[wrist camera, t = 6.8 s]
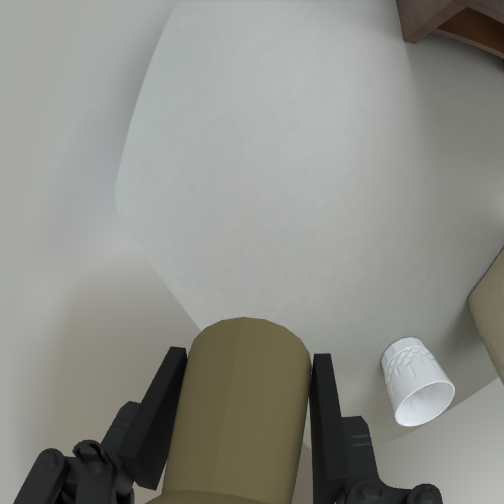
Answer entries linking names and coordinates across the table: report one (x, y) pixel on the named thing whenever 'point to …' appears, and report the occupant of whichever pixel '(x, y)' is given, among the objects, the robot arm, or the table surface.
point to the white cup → (415, 382)
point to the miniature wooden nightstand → (455, 21)
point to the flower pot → (491, 312)
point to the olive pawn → (239, 416)
